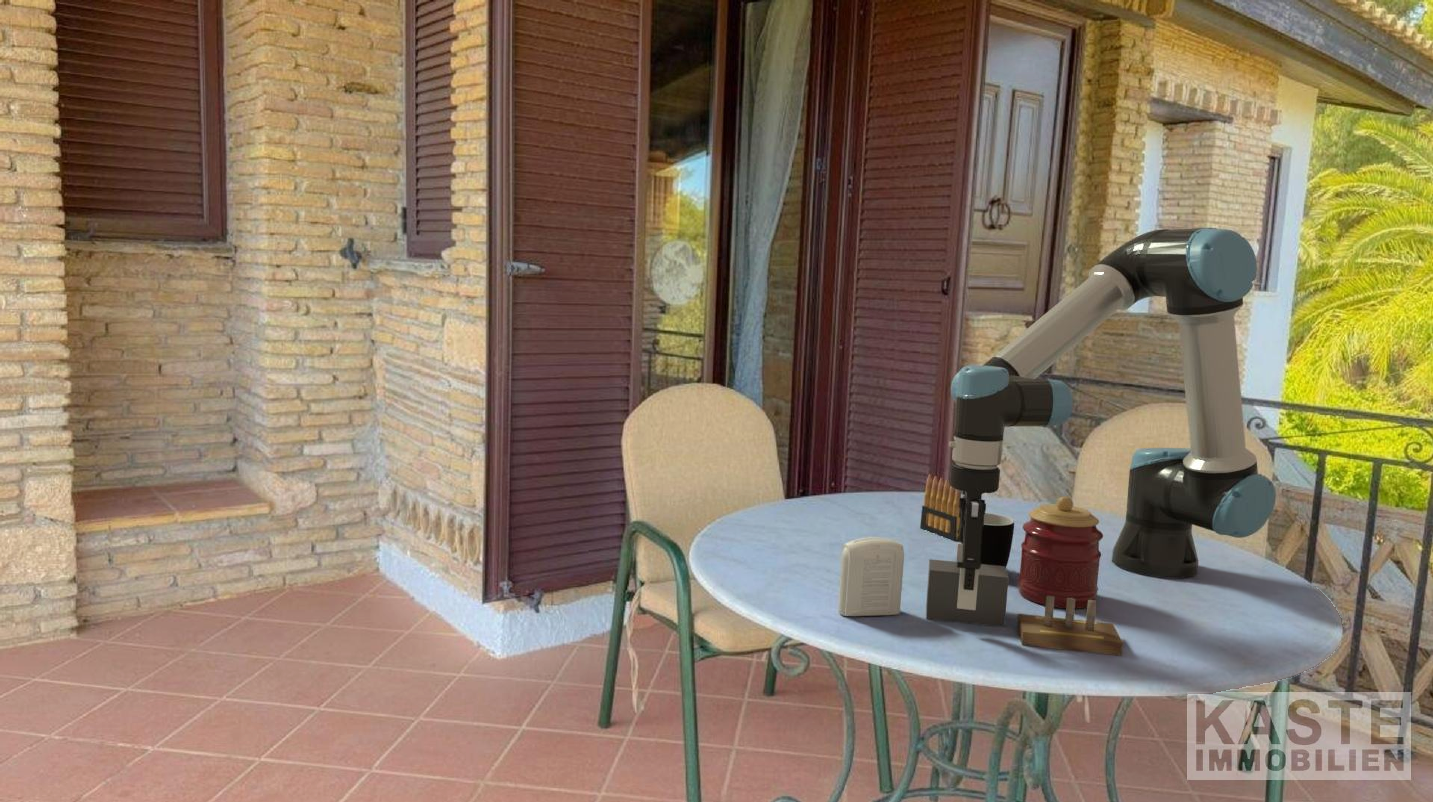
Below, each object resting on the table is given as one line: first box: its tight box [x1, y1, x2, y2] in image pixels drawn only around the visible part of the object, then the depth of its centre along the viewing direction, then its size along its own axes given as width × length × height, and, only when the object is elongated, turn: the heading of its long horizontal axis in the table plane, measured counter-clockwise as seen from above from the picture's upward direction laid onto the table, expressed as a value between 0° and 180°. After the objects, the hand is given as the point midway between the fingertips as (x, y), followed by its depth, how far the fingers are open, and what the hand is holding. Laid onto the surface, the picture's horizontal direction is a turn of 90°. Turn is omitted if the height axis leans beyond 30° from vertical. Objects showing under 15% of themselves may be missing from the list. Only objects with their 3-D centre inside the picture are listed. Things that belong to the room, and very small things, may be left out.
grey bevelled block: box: [925, 558, 1010, 628], centre depth 159 cm, size 12×6×8 cm, turn 78°
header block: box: [1017, 596, 1124, 656], centre depth 151 cm, size 14×8×6 cm, turn 78°
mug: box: [973, 512, 1015, 567], centre depth 185 cm, size 12×9×10 cm
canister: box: [1017, 496, 1104, 609], centre depth 170 cm, size 13×13×18 cm
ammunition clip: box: [919, 473, 962, 542], centre depth 208 cm, size 11×2×12 cm, turn 29°
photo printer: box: [837, 536, 905, 617], centre depth 159 cm, size 10×4×12 cm, turn 103°
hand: (964, 595), depth 159 cm, fingers open, 13 cm apart
